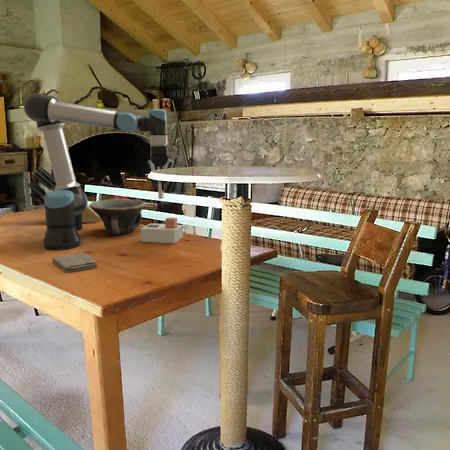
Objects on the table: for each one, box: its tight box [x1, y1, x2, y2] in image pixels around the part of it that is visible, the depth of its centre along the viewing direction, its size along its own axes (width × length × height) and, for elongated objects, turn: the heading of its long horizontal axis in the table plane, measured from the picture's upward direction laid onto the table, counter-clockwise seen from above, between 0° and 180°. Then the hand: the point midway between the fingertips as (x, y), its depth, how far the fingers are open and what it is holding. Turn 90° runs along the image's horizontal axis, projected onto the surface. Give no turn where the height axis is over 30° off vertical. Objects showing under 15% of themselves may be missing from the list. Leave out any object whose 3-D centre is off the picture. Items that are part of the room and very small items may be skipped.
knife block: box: [27, 166, 100, 224], centre depth 242 cm, size 11×35×31 cm, turn 107°
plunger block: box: [140, 223, 184, 244], centre depth 206 cm, size 12×16×6 cm
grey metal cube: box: [146, 223, 159, 228], centre depth 206 cm, size 4×4×4 cm
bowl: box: [89, 198, 147, 235], centre depth 220 cm, size 27×26×15 cm
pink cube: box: [164, 217, 178, 229], centre depth 204 cm, size 4×4×4 cm
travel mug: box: [75, 213, 83, 232], centre depth 226 cm, size 8×8×20 cm
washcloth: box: [51, 252, 98, 273], centre depth 165 cm, size 12×18×3 cm, turn 38°
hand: (161, 198), depth 203 cm, fingers closed
